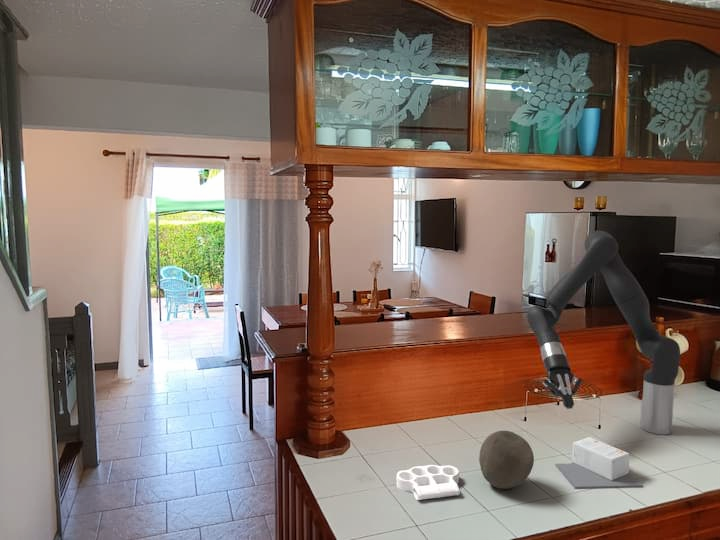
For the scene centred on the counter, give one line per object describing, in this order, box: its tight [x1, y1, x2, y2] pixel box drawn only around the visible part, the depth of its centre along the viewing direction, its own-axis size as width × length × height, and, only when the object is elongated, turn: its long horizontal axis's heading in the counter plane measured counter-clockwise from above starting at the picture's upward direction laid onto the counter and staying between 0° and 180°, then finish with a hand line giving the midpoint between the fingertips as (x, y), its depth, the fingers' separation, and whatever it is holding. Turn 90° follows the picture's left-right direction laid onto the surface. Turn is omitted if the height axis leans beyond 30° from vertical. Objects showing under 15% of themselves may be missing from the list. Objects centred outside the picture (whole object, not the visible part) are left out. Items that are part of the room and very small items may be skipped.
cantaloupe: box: [478, 430, 535, 490], centre depth 140 cm, size 14×14×15 cm
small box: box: [571, 436, 630, 481], centre depth 149 cm, size 8×6×13 cm
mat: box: [554, 462, 644, 489], centre depth 145 cm, size 13×19×1 cm
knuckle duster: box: [396, 464, 460, 501], centre depth 141 cm, size 3×18×15 cm
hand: (570, 407), depth 158 cm, fingers closed
